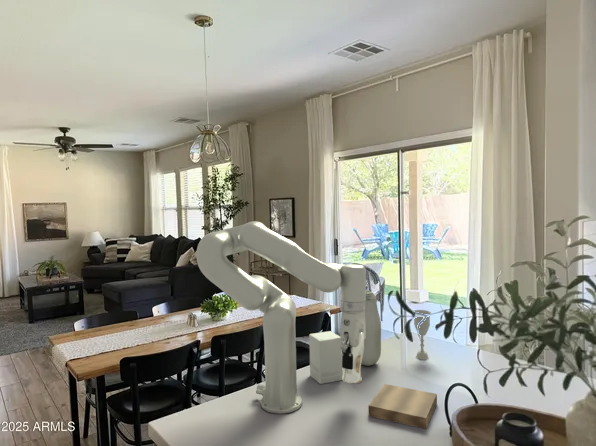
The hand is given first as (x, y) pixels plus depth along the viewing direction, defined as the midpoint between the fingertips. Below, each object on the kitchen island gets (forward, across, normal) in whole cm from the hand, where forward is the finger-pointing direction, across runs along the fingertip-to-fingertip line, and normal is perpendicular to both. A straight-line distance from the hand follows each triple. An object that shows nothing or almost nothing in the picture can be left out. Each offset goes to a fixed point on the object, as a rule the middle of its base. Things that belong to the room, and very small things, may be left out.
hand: (351, 364), depth 124 cm
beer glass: (+5, 0, 0) cm, 5 cm away
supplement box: (+13, +14, +15) cm, 24 cm away
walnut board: (+12, +4, -15) cm, 19 cm away
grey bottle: (+12, +32, +6) cm, 35 cm away
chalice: (+12, +48, -11) cm, 51 cm away
